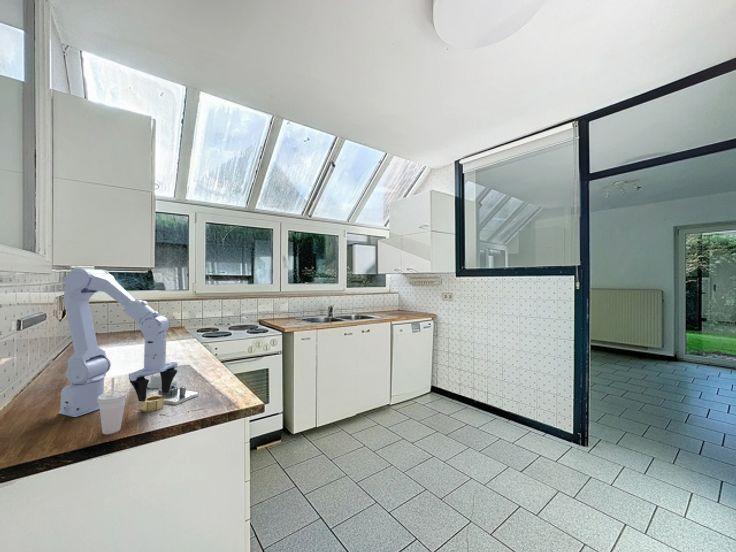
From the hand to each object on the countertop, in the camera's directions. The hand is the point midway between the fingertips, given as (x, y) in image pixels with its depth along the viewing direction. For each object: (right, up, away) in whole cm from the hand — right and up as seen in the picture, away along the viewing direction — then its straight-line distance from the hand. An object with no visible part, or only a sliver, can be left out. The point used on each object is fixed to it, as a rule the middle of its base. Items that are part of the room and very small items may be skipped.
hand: (154, 396), depth 97 cm
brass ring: (0, -4, 0) cm, 4 cm away
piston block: (+2, -4, +8) cm, 9 cm away
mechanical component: (-12, -4, +22) cm, 25 cm away
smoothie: (-1, -4, -15) cm, 15 cm away
